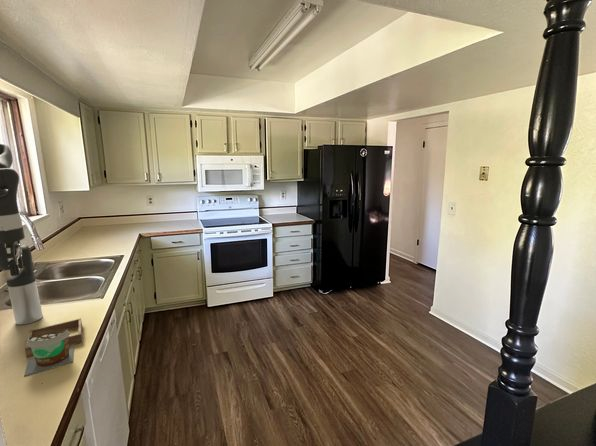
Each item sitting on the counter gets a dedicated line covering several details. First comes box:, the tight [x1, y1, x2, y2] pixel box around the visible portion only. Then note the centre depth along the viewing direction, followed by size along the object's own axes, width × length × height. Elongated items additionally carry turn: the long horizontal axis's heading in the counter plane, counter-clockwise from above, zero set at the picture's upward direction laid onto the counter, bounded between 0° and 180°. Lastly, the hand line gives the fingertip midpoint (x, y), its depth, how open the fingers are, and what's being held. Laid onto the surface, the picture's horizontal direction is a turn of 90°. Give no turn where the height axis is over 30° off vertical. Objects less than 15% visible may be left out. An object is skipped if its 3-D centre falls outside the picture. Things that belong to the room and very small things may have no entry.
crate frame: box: [24, 318, 83, 358], centre depth 124 cm, size 15×17×4 cm
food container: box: [26, 330, 71, 367], centre depth 109 cm, size 12×6×10 cm, turn 105°
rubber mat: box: [23, 346, 74, 378], centre depth 111 cm, size 10×13×1 cm
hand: (17, 271), depth 113 cm, fingers open, 8 cm apart
